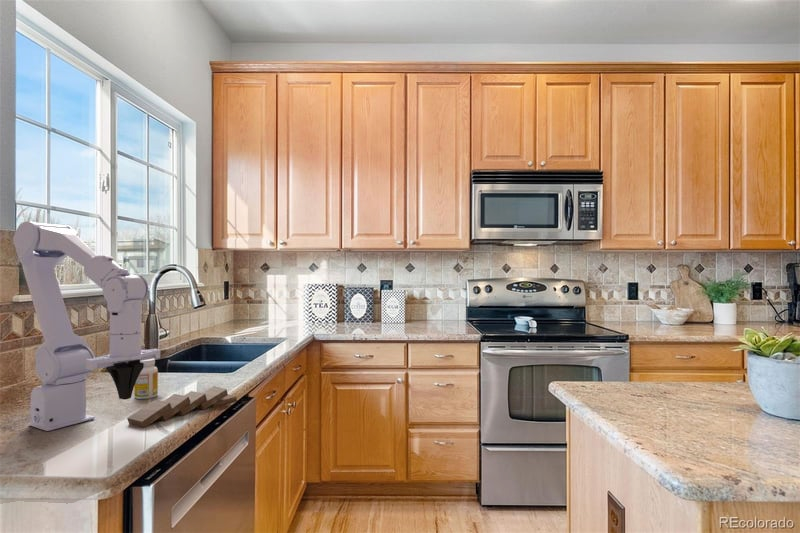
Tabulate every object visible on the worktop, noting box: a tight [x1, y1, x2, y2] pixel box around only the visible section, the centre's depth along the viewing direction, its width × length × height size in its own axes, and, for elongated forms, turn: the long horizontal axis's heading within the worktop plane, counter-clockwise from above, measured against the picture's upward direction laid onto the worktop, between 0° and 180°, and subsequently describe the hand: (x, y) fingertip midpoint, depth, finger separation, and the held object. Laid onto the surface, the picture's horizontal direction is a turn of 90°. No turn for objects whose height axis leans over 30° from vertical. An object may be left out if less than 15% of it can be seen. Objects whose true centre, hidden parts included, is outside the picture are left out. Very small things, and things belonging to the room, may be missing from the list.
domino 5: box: [210, 394, 237, 408], centre depth 120 cm, size 2×5×7 cm
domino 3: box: [175, 390, 207, 417], centre depth 112 cm, size 2×5×7 cm
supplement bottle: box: [133, 359, 159, 400], centre depth 124 cm, size 5×5×10 cm
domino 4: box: [195, 385, 229, 411], centre depth 117 cm, size 2×5×7 cm
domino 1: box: [126, 399, 172, 429], centre depth 104 cm, size 2×5×7 cm
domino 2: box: [157, 393, 191, 422], centre depth 109 cm, size 2×5×7 cm
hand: (125, 398), depth 99 cm, fingers closed
